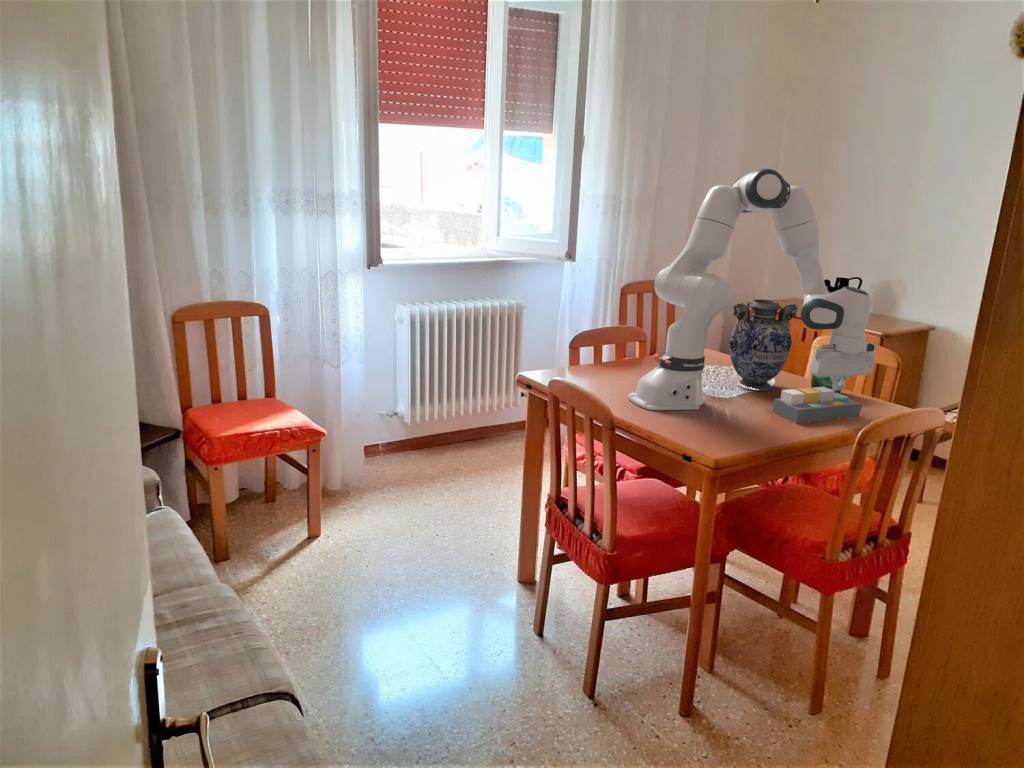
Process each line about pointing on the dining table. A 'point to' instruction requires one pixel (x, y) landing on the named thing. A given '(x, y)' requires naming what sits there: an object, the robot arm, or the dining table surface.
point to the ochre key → (810, 395)
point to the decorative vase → (760, 341)
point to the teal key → (839, 397)
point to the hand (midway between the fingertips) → (837, 389)
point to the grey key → (825, 394)
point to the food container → (823, 382)
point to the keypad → (817, 410)
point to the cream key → (792, 397)
